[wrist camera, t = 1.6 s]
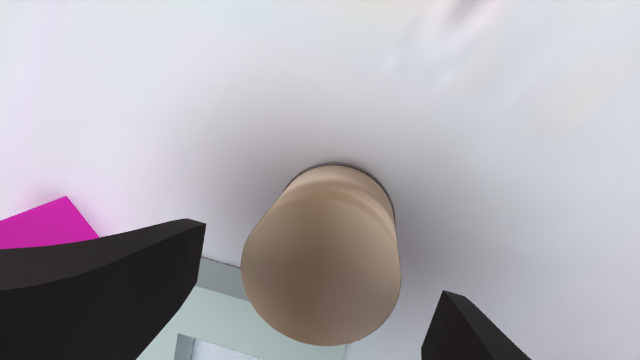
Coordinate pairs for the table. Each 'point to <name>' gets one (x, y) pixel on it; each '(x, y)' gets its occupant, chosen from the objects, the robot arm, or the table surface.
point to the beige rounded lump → (325, 257)
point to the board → (227, 323)
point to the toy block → (45, 226)
